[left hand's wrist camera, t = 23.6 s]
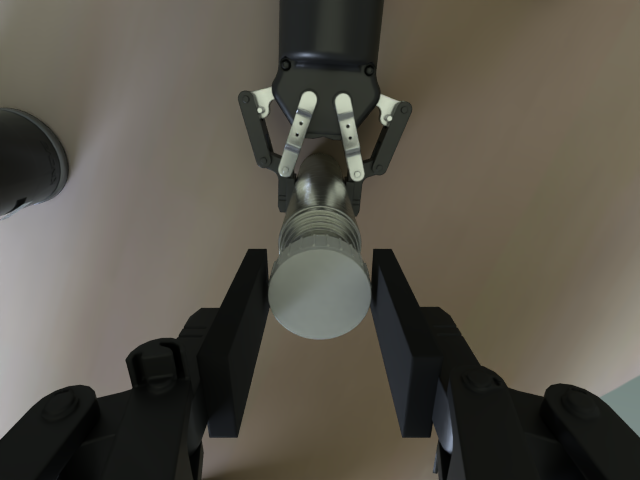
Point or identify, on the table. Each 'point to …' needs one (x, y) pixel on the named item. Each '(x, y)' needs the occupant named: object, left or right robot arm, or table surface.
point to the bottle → (319, 205)
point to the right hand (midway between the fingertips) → (318, 217)
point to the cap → (319, 287)
